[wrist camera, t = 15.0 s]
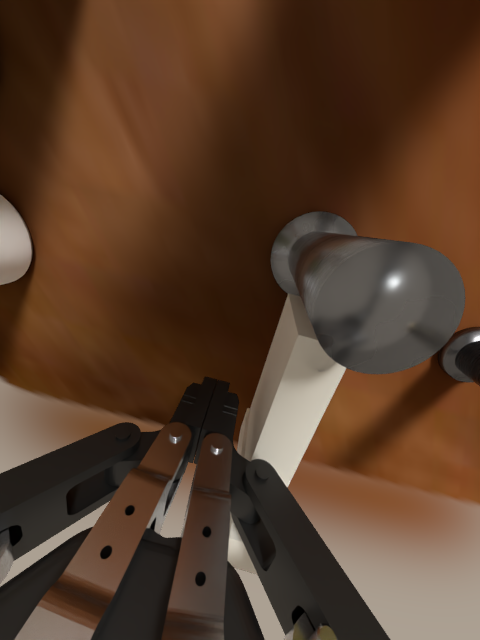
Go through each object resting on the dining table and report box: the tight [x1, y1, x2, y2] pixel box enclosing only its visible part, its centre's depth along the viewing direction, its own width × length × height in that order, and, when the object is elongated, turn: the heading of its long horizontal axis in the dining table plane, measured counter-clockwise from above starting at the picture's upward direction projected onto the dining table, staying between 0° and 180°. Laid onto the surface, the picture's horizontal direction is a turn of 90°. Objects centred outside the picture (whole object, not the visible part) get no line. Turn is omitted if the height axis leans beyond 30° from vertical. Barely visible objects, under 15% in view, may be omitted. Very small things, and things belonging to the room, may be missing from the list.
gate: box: [227, 293, 346, 575], centre depth 12 cm, size 10×2×8 cm, turn 166°
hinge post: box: [271, 212, 465, 374], centre depth 10 cm, size 5×5×10 cm
